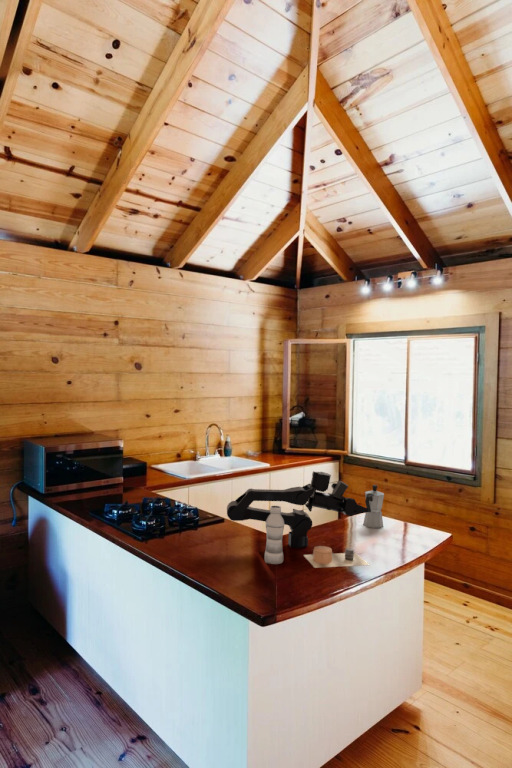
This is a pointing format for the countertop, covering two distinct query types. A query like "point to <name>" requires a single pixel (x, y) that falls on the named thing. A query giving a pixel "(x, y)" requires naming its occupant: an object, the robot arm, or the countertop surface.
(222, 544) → the countertop surface
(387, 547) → the countertop surface
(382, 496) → the coffee maker
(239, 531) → the countertop surface
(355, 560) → the board
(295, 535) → the robot arm
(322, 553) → the cap
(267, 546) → the plastic bottle
